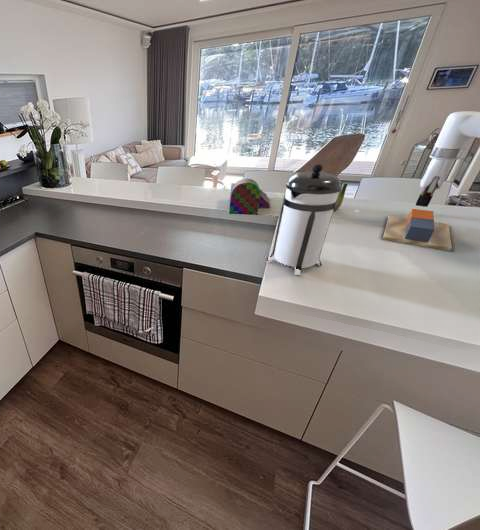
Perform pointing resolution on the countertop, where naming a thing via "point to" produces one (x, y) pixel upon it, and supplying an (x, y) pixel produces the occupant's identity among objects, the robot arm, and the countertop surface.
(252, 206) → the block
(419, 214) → the orange rectangular block
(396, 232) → the tan wooden board
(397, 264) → the countertop surface
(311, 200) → the coffee press
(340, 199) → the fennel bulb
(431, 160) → the robot arm
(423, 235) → the blue gray block
